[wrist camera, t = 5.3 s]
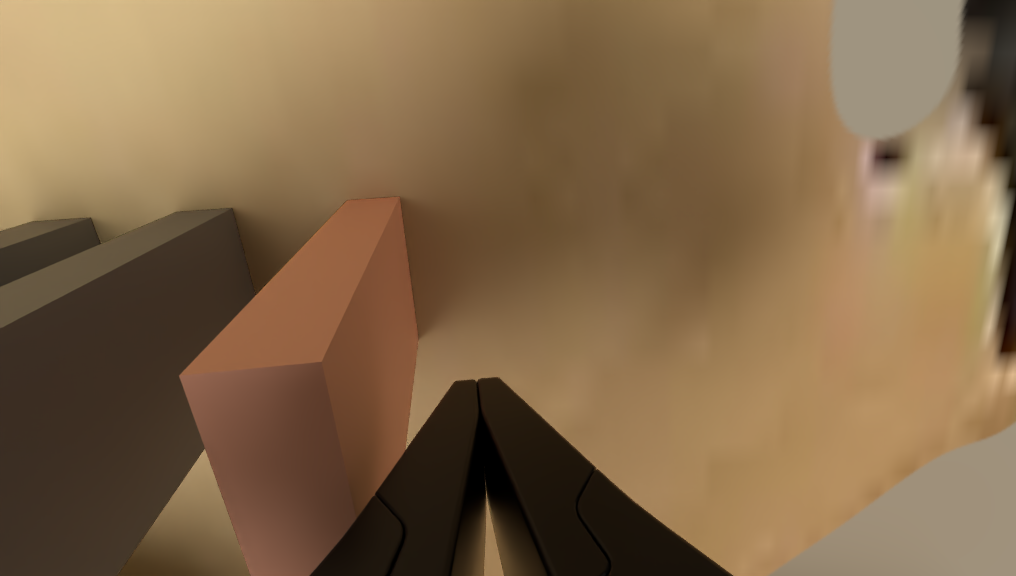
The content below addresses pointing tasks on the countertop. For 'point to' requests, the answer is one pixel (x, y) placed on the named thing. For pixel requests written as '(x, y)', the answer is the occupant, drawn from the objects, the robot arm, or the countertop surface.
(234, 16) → the countertop surface
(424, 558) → the robot arm
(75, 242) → the domino
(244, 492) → the domino
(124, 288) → the domino
